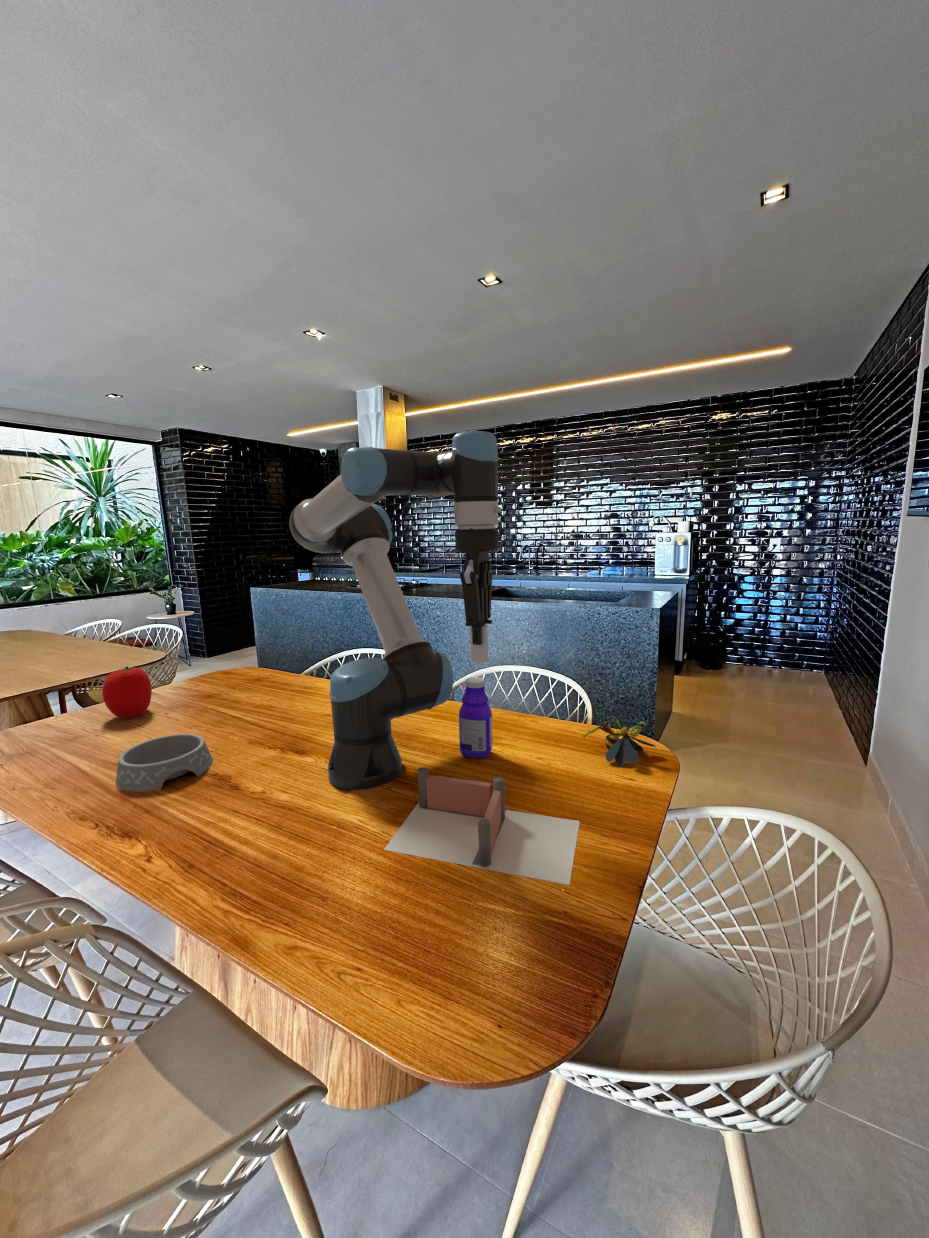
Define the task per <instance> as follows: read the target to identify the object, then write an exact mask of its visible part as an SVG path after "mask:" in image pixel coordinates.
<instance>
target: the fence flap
mask: <svg viewBox="0 0 929 1238" xmlns="http://www.w3.org/2000/svg"><path fill="white" fill-rule="evenodd" d="M500 824H501V791H497V790H494V791H493V790H492V797H491V800H490V802H489V805H488V808H487V811H486V814H485V817H484V819H481V820H479V821H478V839H479V864H480V865H481V866H489V865H490V864H491V854H492V851H493V847H494V844H495V841H496V837H497V834H498V830H499V827H500Z"/></svg>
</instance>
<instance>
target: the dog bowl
mask: <svg viewBox="0 0 929 1238" xmlns="http://www.w3.org/2000/svg"><path fill="white" fill-rule="evenodd" d="M213 762H214V758H213V756H212V754H211V752H210V750H209V748H208V745H207V743H206V740H205V739H204V738H203V737H202V736H201V735H198V734H192V733H177V734H169V735H163V736H159V737H155V738H151V739H148V740H145V741H143V742H140V743H137V744H135V745H133V746H131V747H129V748H128V749H126V750H124V751H123V752H122V753H121V754H120V755H119V757H118V759H117V767H116V778H115V786H116V788H117V789H119V788H120V789H119V790H121V789H122V790H121V791H123V790H126V791H125V792H128V791H134V792H133V793H139V792H138V791H148V792H154V791H153V790H155V791H159V790H161V789H162V788H163V785H164V783H165V781H170V780H172V779H175V778H178V777H181V776H183V775H186V774H187V773H189V772H192V773H193V774H195V776H200V775H203V773H205V772H206V771H208V769H210V768H211V766H212V765H213Z"/></svg>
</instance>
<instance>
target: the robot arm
mask: <svg viewBox="0 0 929 1238" xmlns="http://www.w3.org/2000/svg"><path fill="white" fill-rule="evenodd" d="M451 443H452V444H451V450H446V451H439V452H433V451H422V450H421V451H420V450H419V451H416V450H405V449H404V450H401V449H390V448H389V449H388V448H379V447H373V446H363V447H351V448H348V450H346V451H345V452H344V454H343V459H341V460H342V461H341V463H340V475H339V476H337V477H336V478H335V479H334V480H332V481H331V483H329V484H328V485H327V486H326V487H325V488H323V489H322V490H321V491H320V492H319V493H318V494H316V495H315V496H314V497H313V498H307V499H304V500H302V501H301V502H300V503H299V504H298V505H296V506H295V507H294V509H293V510H292V512H291V514H290V517H289V520H288V521H289V522H288V526H289V530H290V532H291V535H292V537H293V539H294V540H295V541H296V542H297V544H299V545H300V546H302V547H303V548H305V549H306V550H309V551H311V552H314V553H319V554H335V553H338V554H339V553H340V554H341V557H342V560H343V561H344V562H343V563H345V564H346V565H348V566H350V567H352V568H353V570H354V573H355V576H356V578H357V581H358V585H359V587H360V588H361V591H362V595H363V597H364V600H365V603H366V605H367V608H368V610H369V613H370V616H371V618H372V619H371V620H372V621H373V624H374V626H375V628H376V632H377V634H378V637H379V640H380V641H381V645H382V648H383V650H384V655H383V656H382V658H379V657H367V658H360V659H356V660H351V661H349V662H347V663H344V664H343V665H340V666H339V667H337V668H336V669H335V670H333V672H332V674H331V675H330V679H329V686H330V687H329V699H330V704H331V706H330V707H331V717H332V726H333V729H332V730H333V739H334V742H333V746H332V749H331V753H330V757H329V760H328V765H327V775H328V781H329V783H330V784H331V785H333V786H334V787H336V788H337V789H338V788H339V789H342V790H345V791H352V790H353V791H361V790H363V791H364V790H371V789H375V788H378V787H382V786H384V785H387V784H389V783H391V782H392V781H394V780H396V779H397V778H398V777H399V776H400V774H401V773H402V771H403V766H402V765H403V764H402V763H403V762H402V757H401V754H400V751H399V750H398V747H397V744H396V742H395V740H394V738H393V734H392V720H393V719H397V718H400V717H405V716H408V715H411V714H415V713H418V712H422V711H425V710H431V709H432V710H433V708H435V707H438V706H441V705H443V704H445V703H446V702H447V701H448V700H449V699H450V697H451V695H452V691H453V687H454V686H453V685H454V670H453V666H452V664H451V661H450V659H449V657H447V655H445V654H444V653H442V652H439V651H434V649H433V646H432V644H431V642H430V641H429V640H426V639H423V638H421V635H420V633H419V630H418V628H417V625H416V622H415V620H414V618H413V616H412V613H411V611H410V608H409V606H408V604H407V601H406V599H405V596H404V593H403V591H402V589H401V586H400V584H399V582H398V579H397V577H396V574H395V570H394V569H393V566H392V565H391V561H390V558H389V556H388V555H387V554H388V553H389V551H390V548H391V546H390V545H391V543H392V541H393V531H392V528H393V527H392V523H391V522H392V521H391V519H390V517H389V515H388V513H387V511H385V509H384V508H383V507H382V506H380V505H378V504H375V503H376V502H378V501H380V500H381V499H382V500H383V498H385V497H387V496H424V497H433V498H434V497H436V498H439V497H442V496H448V495H453V515H454V516H453V517H454V519H453V520H454V522H453V525H454V526H455V527H457V529H456V530H455V531H454V534H455V535H454V539H455V540H454V542H455V544H454V545H455V547H454V548H455V550H456V551H457V552H461V553H462V552H464V553H465V560H464V563H463V571H460V572H459V578H460V582H461V586H462V597H463V605H464V615H465V623H464V624H465V625H464V626H465V627H470V660H471V662H475V663H477V662H478V663H487V662H488V660H489V646H488V645H489V644H488V641H489V640H488V636H489V635H488V625H492V624H493V619H491V616H492V614H491V613H492V611H491V610H492V591H493V574H494V569H495V568H494V565H493V564H492V562H491V560H490V556H489V552H495V551H498V550H499V548H500V542H499V541H500V535H499V533H500V531H499V529H498V528H496V527H495V526H498V524H499V513H501V512H502V511H503V510H502V507H501V506H499V465H498V464H499V455H498V442H497V438H496V435H495V434H494V433H492V432H490V431H482V430H481V431H480V430H471V431H470V430H468V431H461V432H457V433H456V434H455V435H454V436H453V437H452V442H451Z"/></svg>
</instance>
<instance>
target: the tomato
mask: <svg viewBox="0 0 929 1238" xmlns="http://www.w3.org/2000/svg"><path fill="white" fill-rule="evenodd" d="M102 685H103V686H102V699H103V702H104V705H105V706H106V708H107V709H108V710H109V712H110V713H111V714H113V715H114V716H115V717H117V718H119V719H130V718H131V719H132V718H135V717H137V716H140V715H142V714H144V713H145V712H147V710H148V709H149V707H150V704H151V701H152V695H153V694H152V693H153V692H152V683H151V680H150V677H149V675H148V673H147V672H146V671H145V670H143V669H142V668H139V667H136V666H134V667H133V666H132V667H129V666H128V665H127V666H125V667H124V668H122V669H118V670H116V671H113V672H111V673H109V675H107V677H106V678H105V680H104V682H103V684H102Z"/></svg>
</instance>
